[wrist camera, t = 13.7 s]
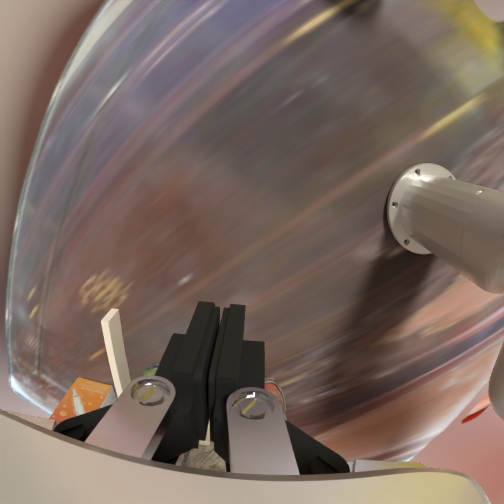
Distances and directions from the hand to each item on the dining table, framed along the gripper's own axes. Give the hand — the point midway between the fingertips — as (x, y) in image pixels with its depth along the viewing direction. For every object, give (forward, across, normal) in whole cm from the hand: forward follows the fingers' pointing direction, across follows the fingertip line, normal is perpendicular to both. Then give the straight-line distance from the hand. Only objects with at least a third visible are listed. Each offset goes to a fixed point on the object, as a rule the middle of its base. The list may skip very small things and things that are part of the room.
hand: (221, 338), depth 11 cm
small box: (+29, +27, +37) cm, 54 cm away
